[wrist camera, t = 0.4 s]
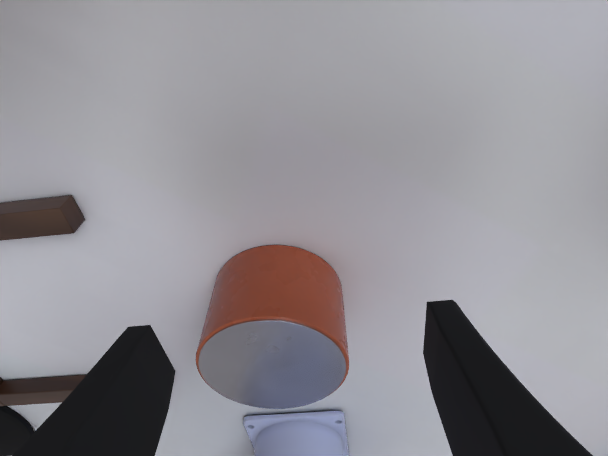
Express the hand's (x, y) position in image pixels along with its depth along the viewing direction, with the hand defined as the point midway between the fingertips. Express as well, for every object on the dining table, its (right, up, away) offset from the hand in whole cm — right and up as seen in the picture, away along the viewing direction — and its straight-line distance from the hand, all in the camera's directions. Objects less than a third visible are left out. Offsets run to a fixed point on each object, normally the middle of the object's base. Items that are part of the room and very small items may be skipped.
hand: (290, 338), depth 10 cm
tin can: (-1, -1, +13) cm, 13 cm away
